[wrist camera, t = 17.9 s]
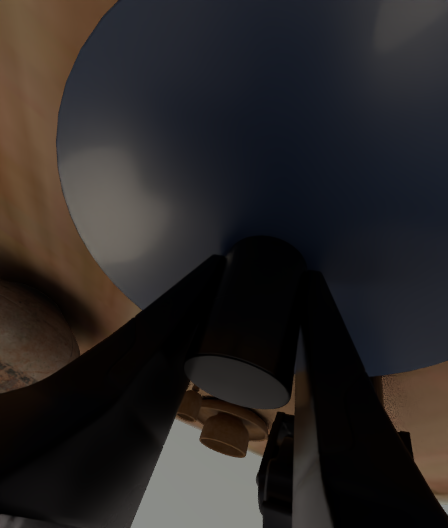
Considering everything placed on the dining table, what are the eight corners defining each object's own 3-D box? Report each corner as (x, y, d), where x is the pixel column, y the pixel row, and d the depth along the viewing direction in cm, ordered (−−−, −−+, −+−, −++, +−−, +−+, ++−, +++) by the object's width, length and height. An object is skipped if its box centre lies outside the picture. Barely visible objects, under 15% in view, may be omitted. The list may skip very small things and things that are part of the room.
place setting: (173, 401, 49) (157, 439, 45) (190, 356, 34) (169, 407, 30) (269, 440, 49) (262, 482, 45) (329, 412, 34) (326, 470, 30)
